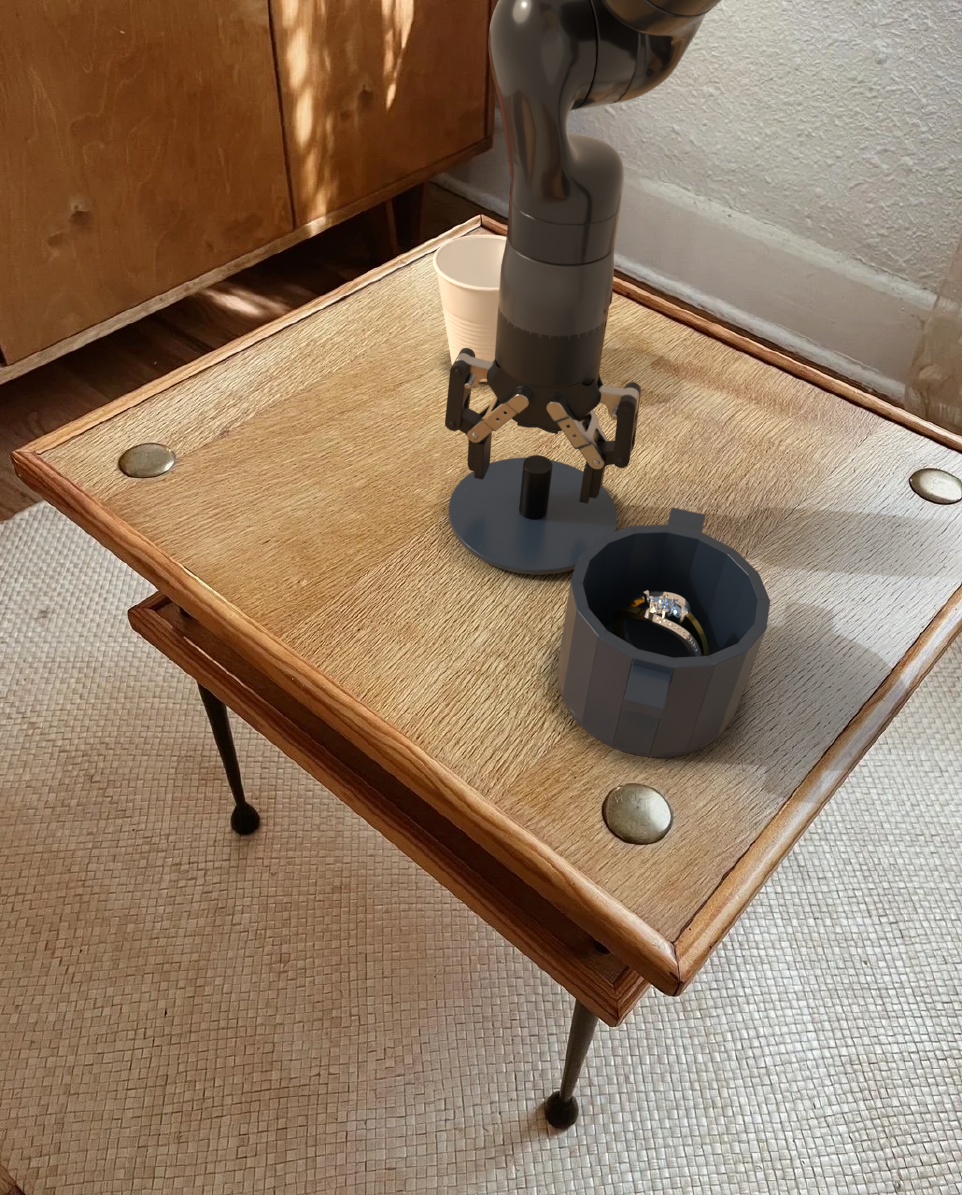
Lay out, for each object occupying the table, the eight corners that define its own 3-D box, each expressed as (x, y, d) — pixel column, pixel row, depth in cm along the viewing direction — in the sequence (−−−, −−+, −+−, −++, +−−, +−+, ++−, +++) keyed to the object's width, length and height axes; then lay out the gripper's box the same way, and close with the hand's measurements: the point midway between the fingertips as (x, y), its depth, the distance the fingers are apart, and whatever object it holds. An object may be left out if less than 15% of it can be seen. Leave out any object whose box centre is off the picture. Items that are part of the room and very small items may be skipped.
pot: (749, 615, 78) (781, 523, 71) (719, 812, 66) (754, 723, 59) (586, 577, 80) (602, 483, 73) (529, 761, 68) (541, 669, 61)
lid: (629, 487, 88) (640, 431, 83) (596, 597, 78) (606, 541, 74) (475, 453, 90) (478, 397, 86) (426, 557, 81) (426, 499, 76)
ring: (597, 662, 73) (612, 584, 67) (625, 640, 75) (643, 561, 69) (673, 721, 70) (696, 644, 64) (702, 695, 72) (727, 618, 66)
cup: (551, 385, 97) (562, 279, 89) (453, 404, 95) (456, 297, 87) (510, 330, 104) (518, 227, 96) (417, 347, 101) (417, 242, 93)
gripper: (436, 309, 68) (433, 494, 80) (647, 351, 66) (612, 535, 78) (469, 256, 73) (461, 438, 85) (666, 294, 71) (630, 475, 83)
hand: (533, 484), depth 81 cm, fingers open, 8 cm apart
